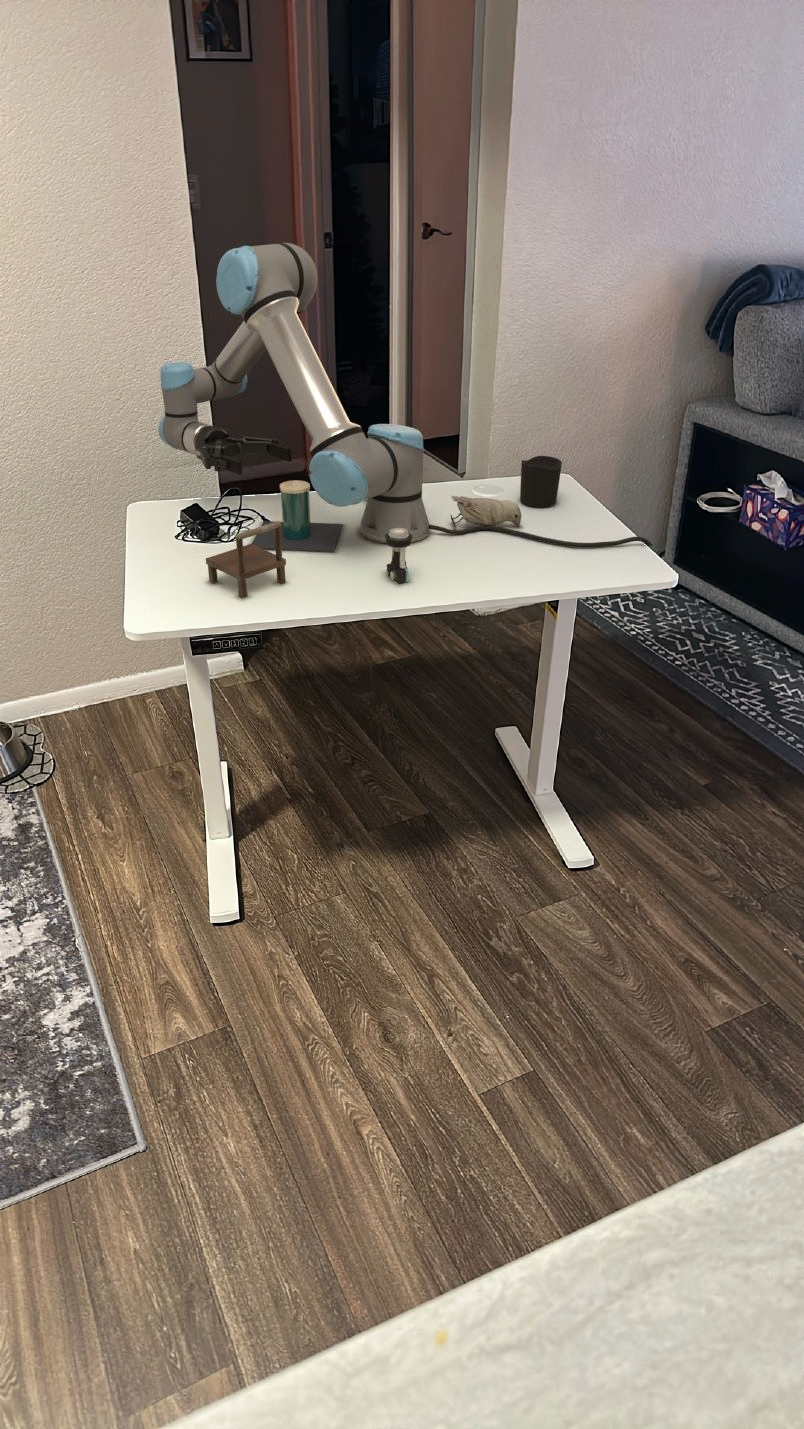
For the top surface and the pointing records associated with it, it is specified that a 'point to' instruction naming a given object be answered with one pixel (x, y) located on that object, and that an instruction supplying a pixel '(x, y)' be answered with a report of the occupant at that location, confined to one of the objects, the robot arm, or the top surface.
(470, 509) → the decorative bird
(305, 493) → the canister
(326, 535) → the mat
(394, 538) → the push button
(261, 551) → the miniature wooden chair
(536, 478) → the pen holder
